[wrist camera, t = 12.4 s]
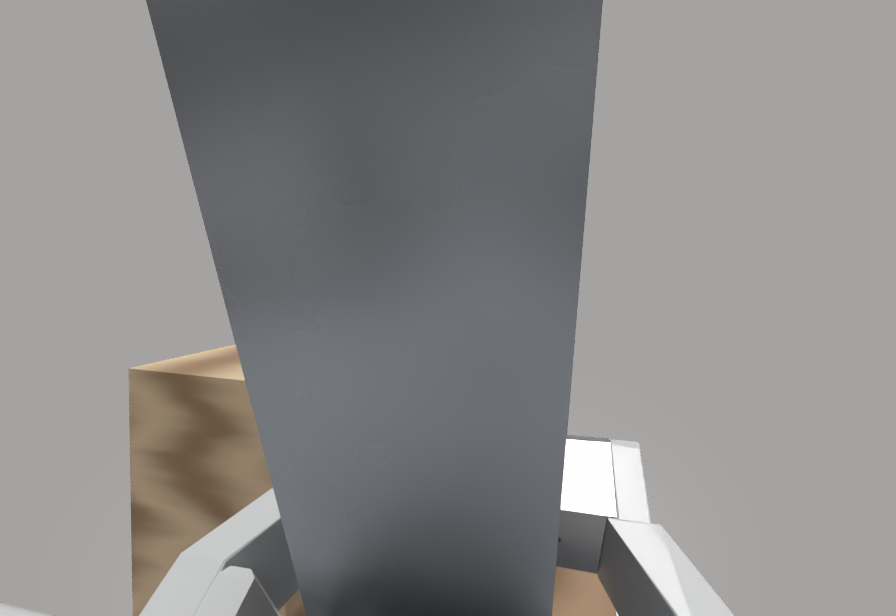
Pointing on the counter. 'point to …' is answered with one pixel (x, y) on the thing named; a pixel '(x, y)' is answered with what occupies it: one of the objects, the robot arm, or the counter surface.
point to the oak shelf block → (190, 460)
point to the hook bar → (399, 277)
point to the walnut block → (580, 594)
